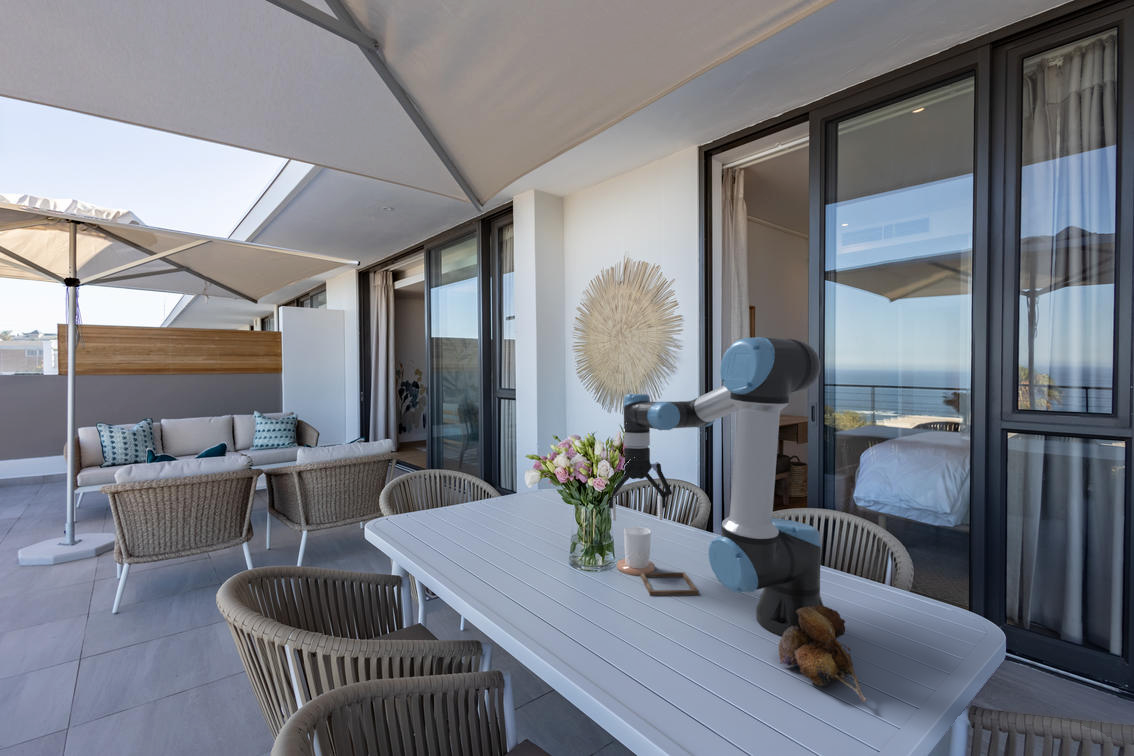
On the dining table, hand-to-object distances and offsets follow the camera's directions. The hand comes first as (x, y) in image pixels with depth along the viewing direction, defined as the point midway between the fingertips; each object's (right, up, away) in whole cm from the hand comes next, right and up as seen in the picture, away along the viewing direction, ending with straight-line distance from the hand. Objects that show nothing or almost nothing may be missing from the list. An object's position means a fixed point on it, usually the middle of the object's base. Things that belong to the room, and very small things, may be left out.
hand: (636, 519), depth 149 cm
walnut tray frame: (+7, -15, -12) cm, 20 cm away
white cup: (0, -14, 0) cm, 14 cm away
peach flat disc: (0, -14, 0) cm, 14 cm away
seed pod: (+28, -15, -52) cm, 61 cm away
